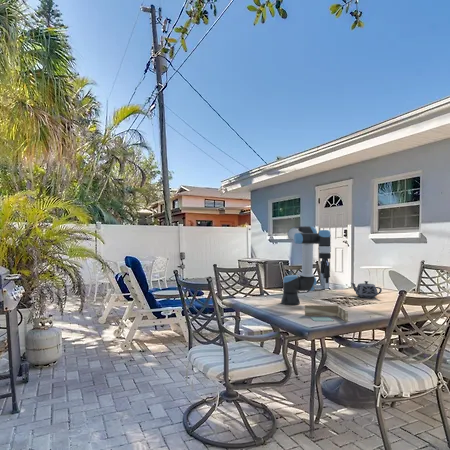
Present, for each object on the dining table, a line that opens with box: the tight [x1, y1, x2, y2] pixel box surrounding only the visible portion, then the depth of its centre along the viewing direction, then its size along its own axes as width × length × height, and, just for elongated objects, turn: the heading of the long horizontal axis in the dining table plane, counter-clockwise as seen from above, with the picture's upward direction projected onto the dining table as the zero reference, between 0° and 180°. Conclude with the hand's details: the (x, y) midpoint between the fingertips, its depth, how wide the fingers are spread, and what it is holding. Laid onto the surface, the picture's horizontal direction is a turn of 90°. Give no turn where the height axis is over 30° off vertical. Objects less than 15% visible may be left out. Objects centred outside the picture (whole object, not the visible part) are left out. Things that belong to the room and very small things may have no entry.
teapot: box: [350, 280, 383, 299], centre depth 308 cm, size 19×31×15 cm, turn 38°
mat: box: [309, 316, 334, 322], centre depth 221 cm, size 10×13×1 cm
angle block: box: [313, 272, 330, 290], centre depth 222 cm, size 9×6×10 cm, turn 90°
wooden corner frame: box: [304, 304, 349, 323], centre depth 224 cm, size 18×24×7 cm
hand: (325, 287), depth 222 cm, fingers closed on angle block, 6 cm apart
